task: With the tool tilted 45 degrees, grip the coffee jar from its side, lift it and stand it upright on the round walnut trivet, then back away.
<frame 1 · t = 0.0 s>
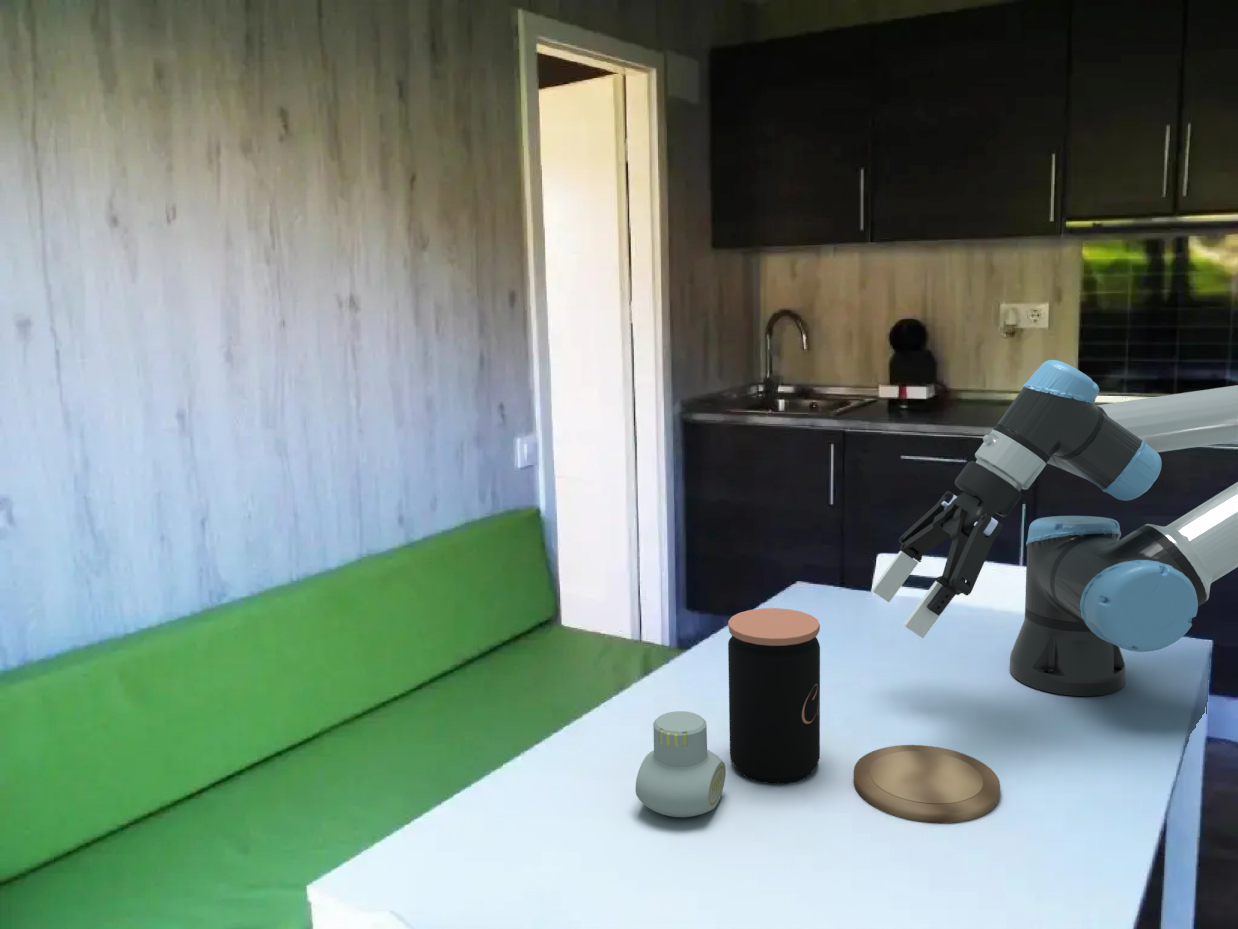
hand: (895, 613, 133), 15 cm above the table, tool tilted 35°, fingers open, 13 cm apart
air freshener: (681, 806, 118), on the table
trivet: (925, 786, 120), on the table
coffee jar: (774, 767, 126), on the table
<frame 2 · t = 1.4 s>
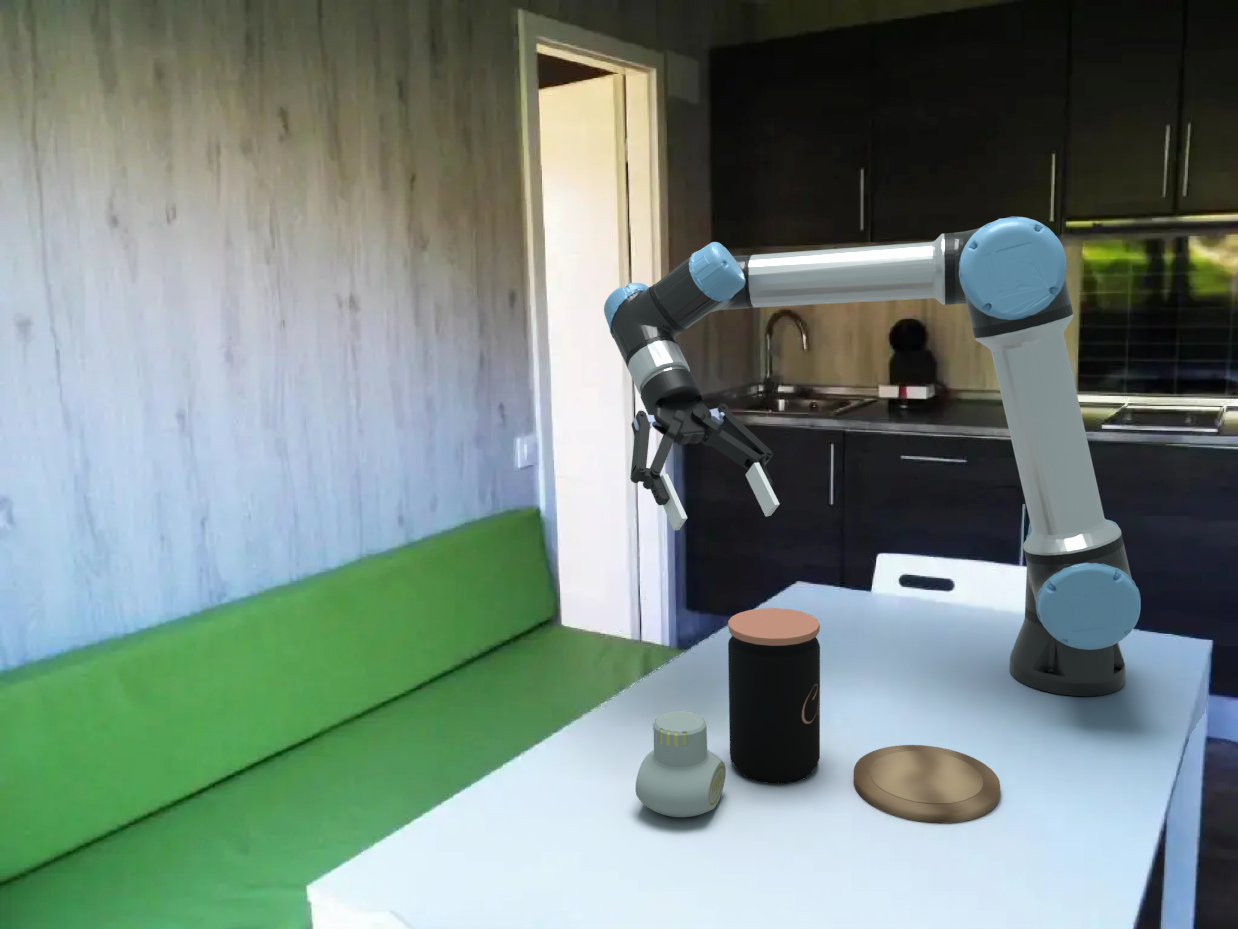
hand: (727, 517, 130), 29 cm above the table, tool tilted 45°, fingers open, 13 cm apart
nothing on the table moved.
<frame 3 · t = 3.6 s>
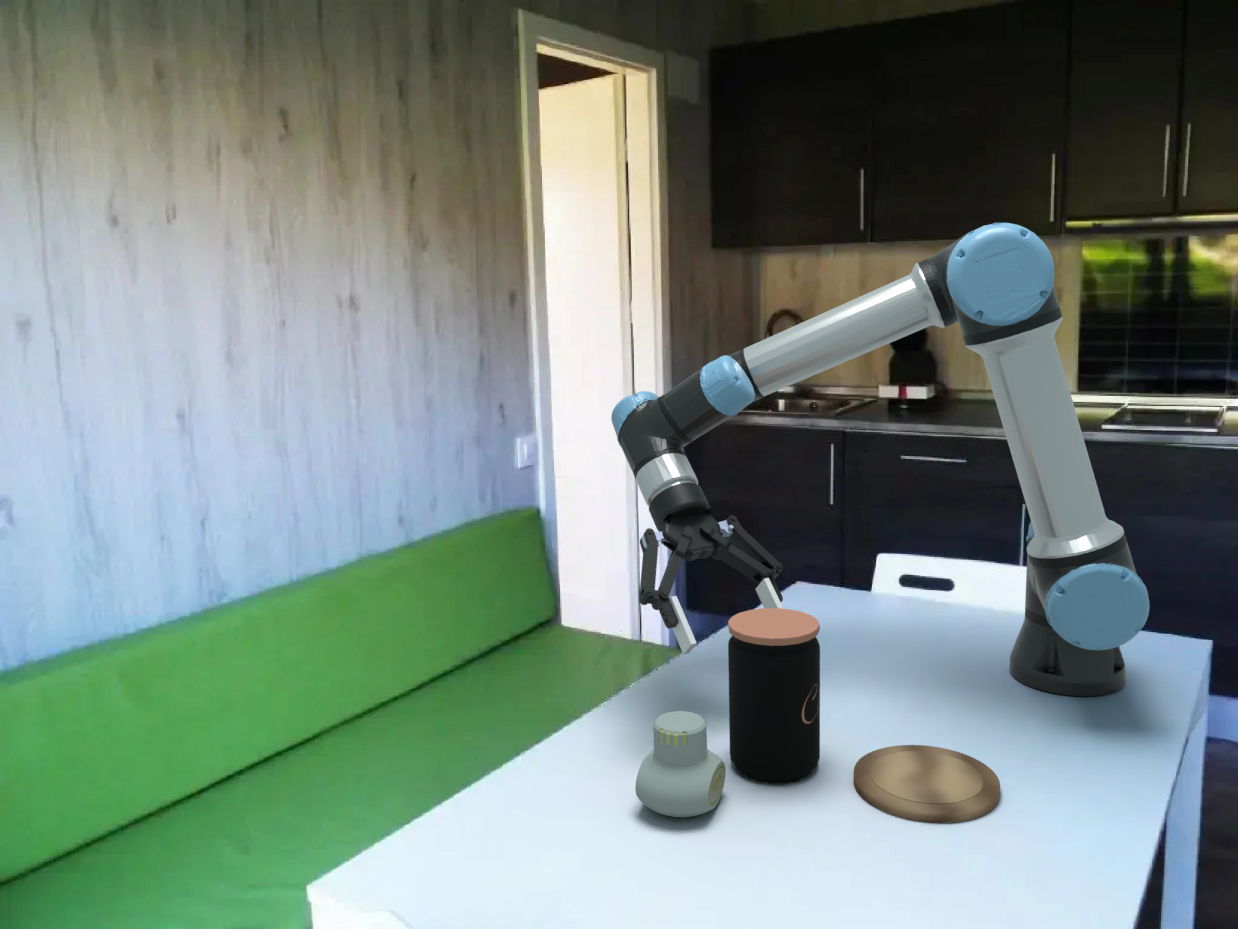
hand: (737, 638, 129), 14 cm above the table, tool tilted 45°, fingers open, 13 cm apart
nothing on the table moved.
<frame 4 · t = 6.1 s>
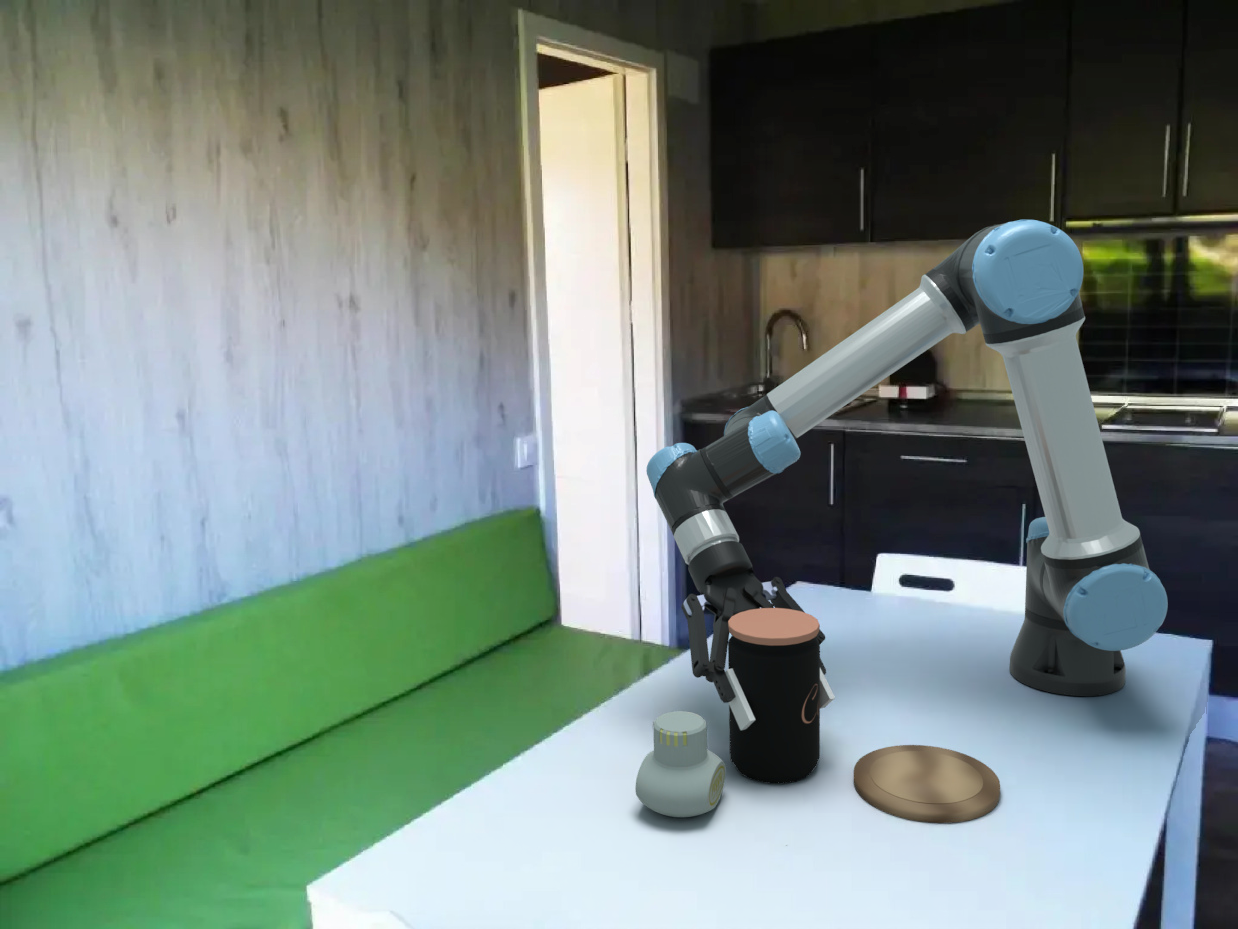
hand: (788, 714, 122), 8 cm above the table, tool tilted 45°, fingers closed on coffee jar, 11 cm apart
coffee jar: (774, 766, 126), on the table, touching gripper
everything else where it was.
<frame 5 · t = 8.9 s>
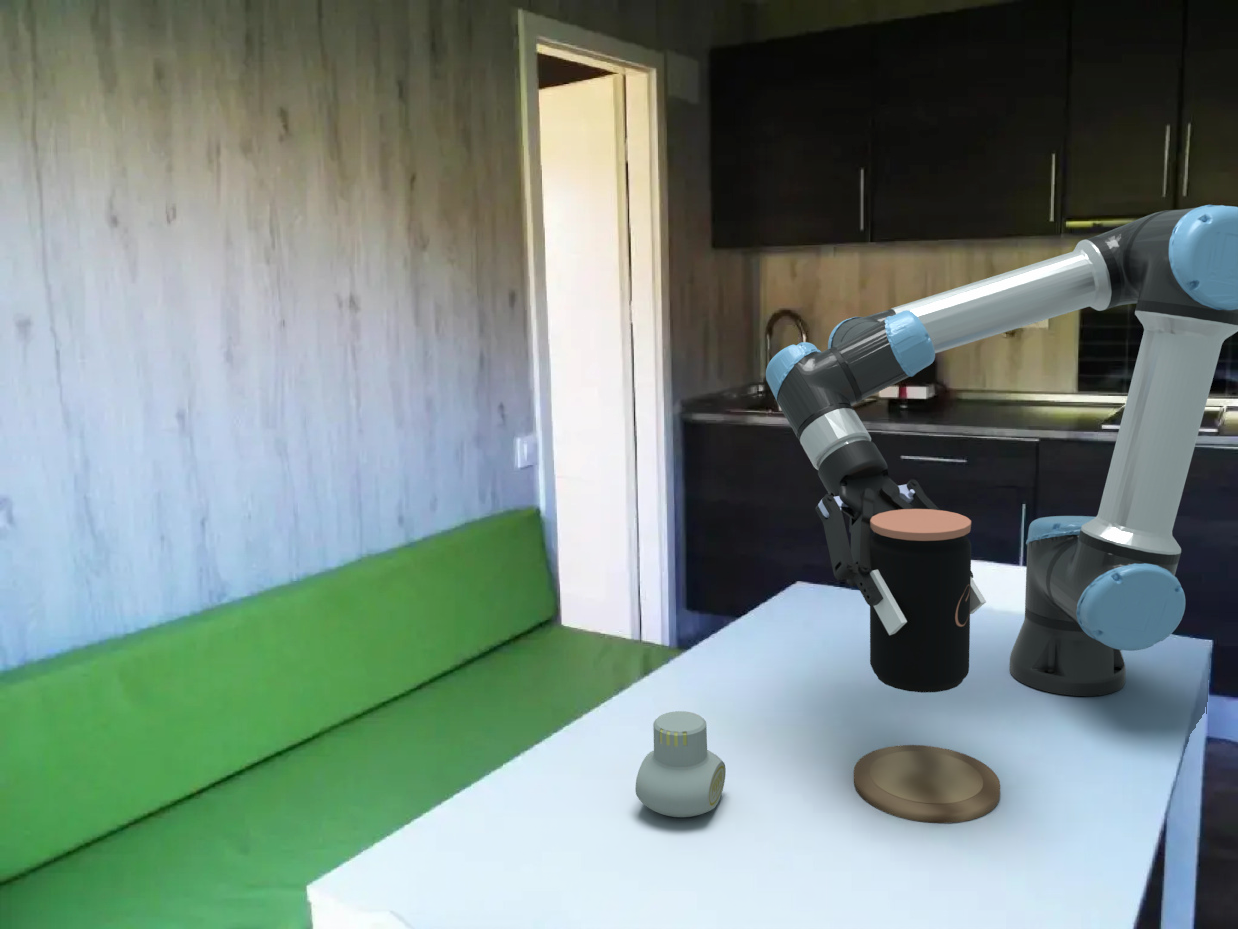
hand: (938, 618, 114), 21 cm above the table, tool tilted 45°, fingers closed on coffee jar, 11 cm apart
coffee jar: (919, 677, 118), point 13 cm above the table, touching gripper
everything else where it was.
when the fingers open (10 cm above the table, at t = 11.7 s): coffee jar drops 1 cm, resting on trivet.
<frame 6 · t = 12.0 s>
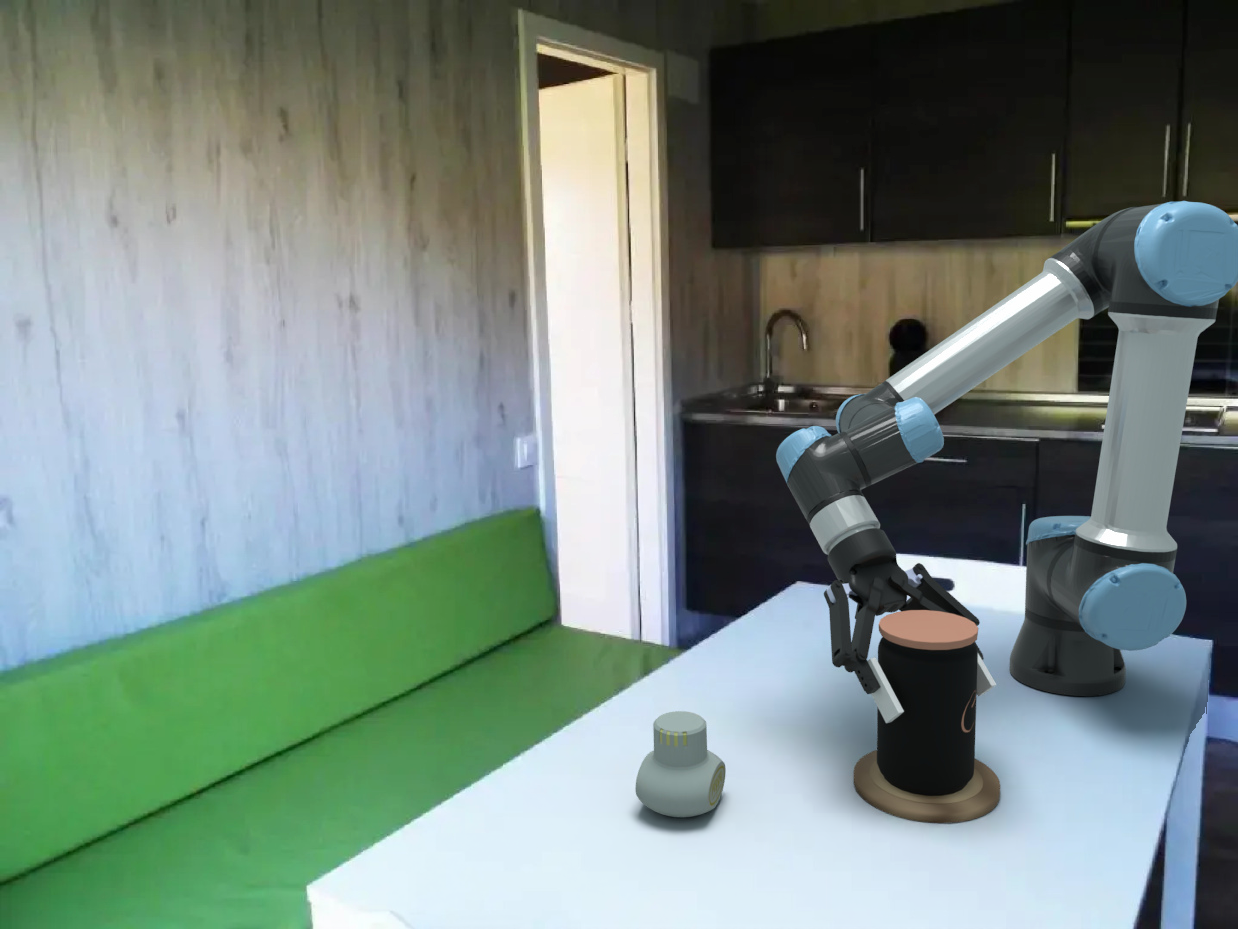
hand: (942, 704, 116), 11 cm above the table, tool tilted 45°, fingers open, 13 cm apart
coffee jar: (924, 777, 120), point 1 cm above the table, touching trivet
everything else where it was.
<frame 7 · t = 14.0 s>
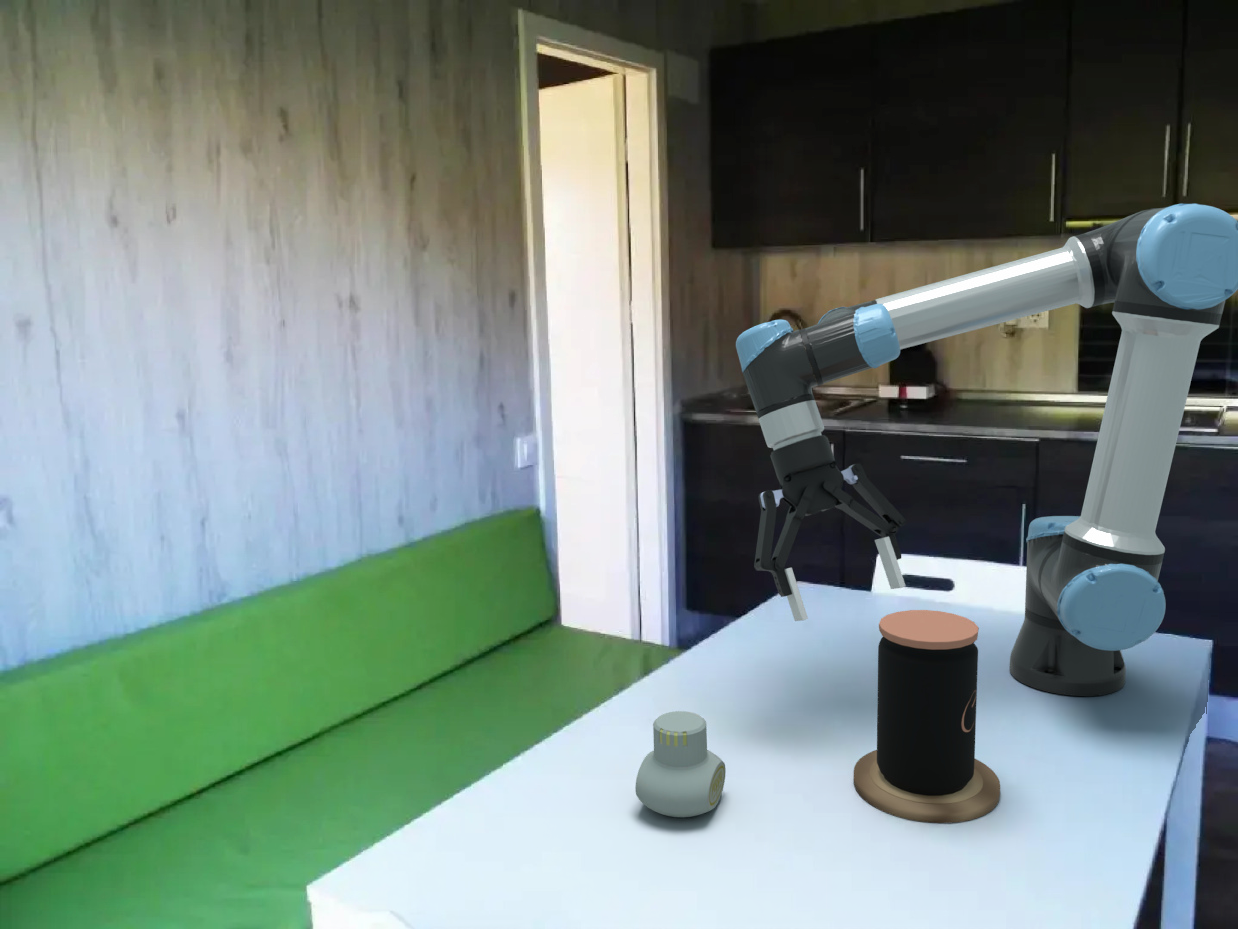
hand: (850, 604, 131), 17 cm above the table, tool tilted 25°, fingers open, 13 cm apart
nothing on the table moved.
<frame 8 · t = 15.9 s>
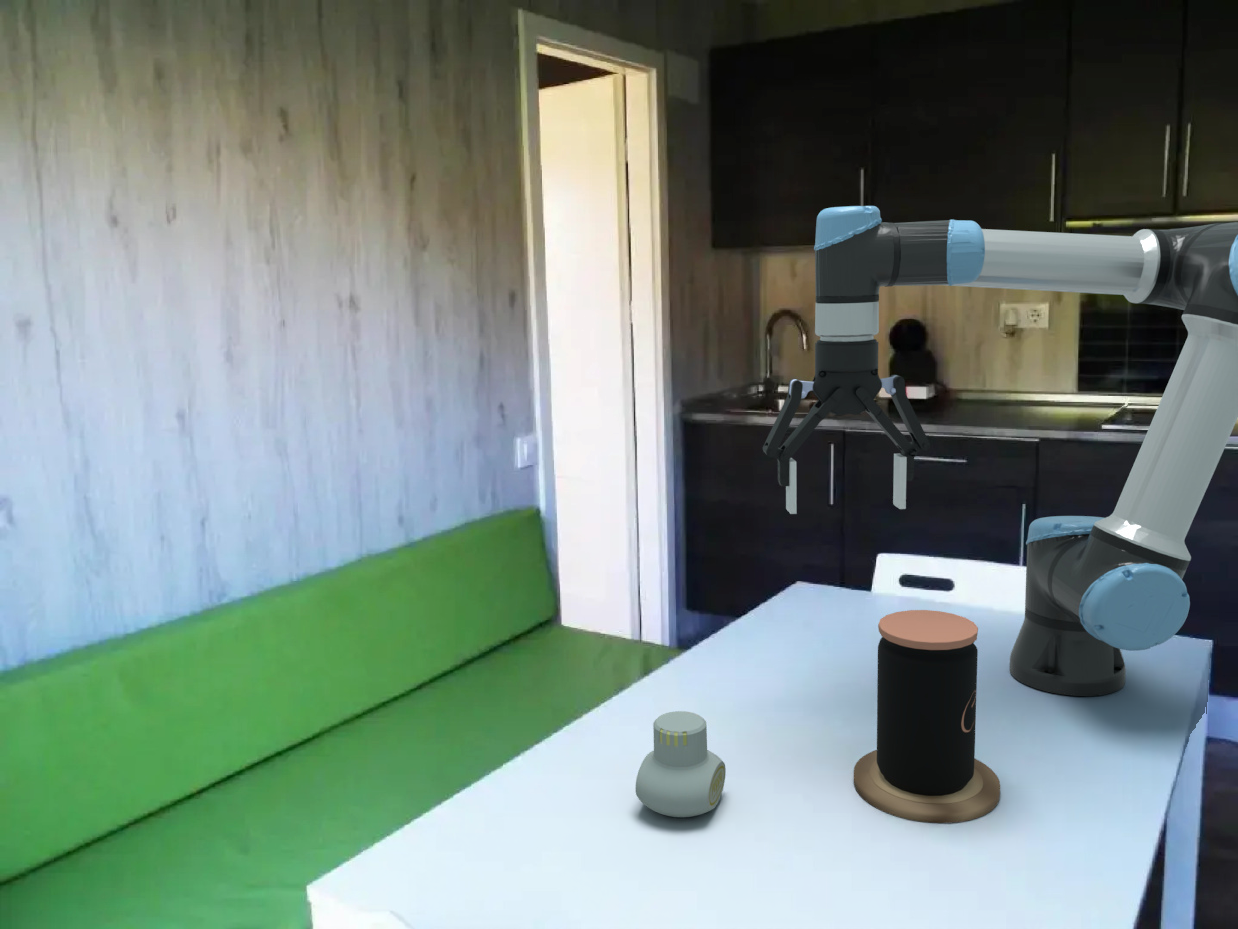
hand: (845, 509, 131), 29 cm above the table, tool pointing down, fingers open, 13 cm apart
nothing on the table moved.
at the end: coffee jar 0.1 cm from the trivet (horizontally); coffee jar tilted 0°; coffee jar touching trivet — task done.
